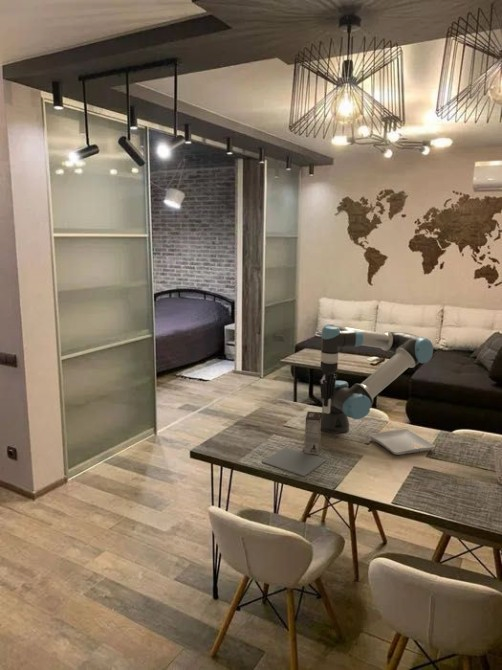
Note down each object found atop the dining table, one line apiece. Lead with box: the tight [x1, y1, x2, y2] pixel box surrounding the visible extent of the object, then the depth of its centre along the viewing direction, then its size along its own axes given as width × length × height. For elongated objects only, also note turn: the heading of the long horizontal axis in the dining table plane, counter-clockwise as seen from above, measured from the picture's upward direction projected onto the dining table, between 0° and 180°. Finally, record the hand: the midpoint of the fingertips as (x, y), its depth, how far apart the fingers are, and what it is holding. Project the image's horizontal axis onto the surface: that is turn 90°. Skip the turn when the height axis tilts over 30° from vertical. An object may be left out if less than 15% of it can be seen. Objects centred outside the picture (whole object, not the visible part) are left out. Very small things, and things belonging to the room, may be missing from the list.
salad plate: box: [368, 428, 436, 456], centre depth 225 cm, size 21×21×3 cm
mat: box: [261, 446, 327, 478], centre depth 207 cm, size 18×20×1 cm
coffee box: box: [303, 411, 322, 455], centre depth 217 cm, size 9×6×16 cm
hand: (326, 412), depth 226 cm, fingers closed
